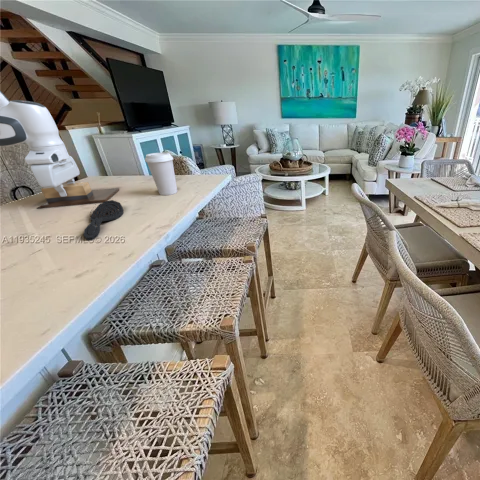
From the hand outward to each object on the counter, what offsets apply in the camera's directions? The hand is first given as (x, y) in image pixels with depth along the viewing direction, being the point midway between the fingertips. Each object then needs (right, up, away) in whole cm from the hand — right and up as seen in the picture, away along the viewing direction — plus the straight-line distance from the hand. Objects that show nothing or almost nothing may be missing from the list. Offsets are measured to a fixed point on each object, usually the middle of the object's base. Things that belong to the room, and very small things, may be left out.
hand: (68, 193), depth 96 cm
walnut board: (+1, -1, +4) cm, 4 cm away
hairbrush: (+26, -12, -16) cm, 33 cm away
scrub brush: (0, -2, +1) cm, 2 cm away
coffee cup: (+30, +2, +10) cm, 32 cm away
